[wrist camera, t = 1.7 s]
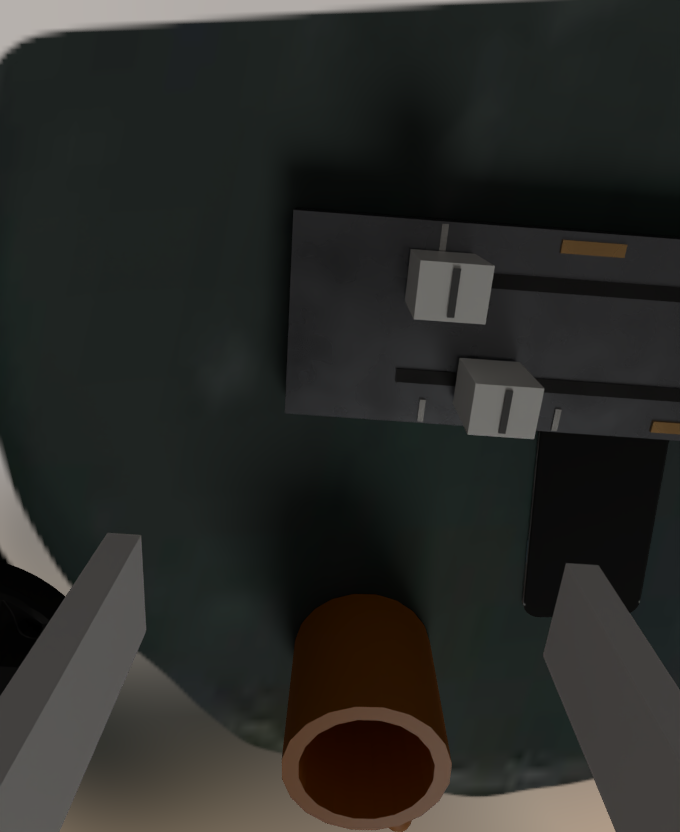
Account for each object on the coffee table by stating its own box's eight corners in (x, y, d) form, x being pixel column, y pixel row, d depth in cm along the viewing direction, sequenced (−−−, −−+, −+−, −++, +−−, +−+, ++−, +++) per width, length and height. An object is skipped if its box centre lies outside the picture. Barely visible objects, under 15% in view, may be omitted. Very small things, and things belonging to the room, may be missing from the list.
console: (288, 399, 33) (281, 428, 30) (296, 207, 30) (289, 212, 26) (790, 435, 34) (845, 467, 30) (859, 250, 30) (931, 261, 27)
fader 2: (452, 403, 31) (468, 435, 27) (459, 357, 30) (476, 384, 26) (511, 407, 31) (534, 439, 27) (519, 361, 30) (545, 389, 26)
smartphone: (680, 388, 33) (638, 615, 38) (673, 384, 33) (633, 608, 39) (543, 392, 33) (521, 618, 38) (539, 388, 34) (518, 610, 39)
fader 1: (404, 300, 29) (413, 319, 25) (410, 249, 28) (420, 260, 24) (467, 305, 29) (486, 325, 25) (475, 253, 28) (495, 266, 24)
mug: (313, 739, 43) (302, 875, 35) (284, 599, 39) (264, 715, 30) (441, 729, 42) (461, 865, 34) (426, 585, 38) (445, 700, 30)
